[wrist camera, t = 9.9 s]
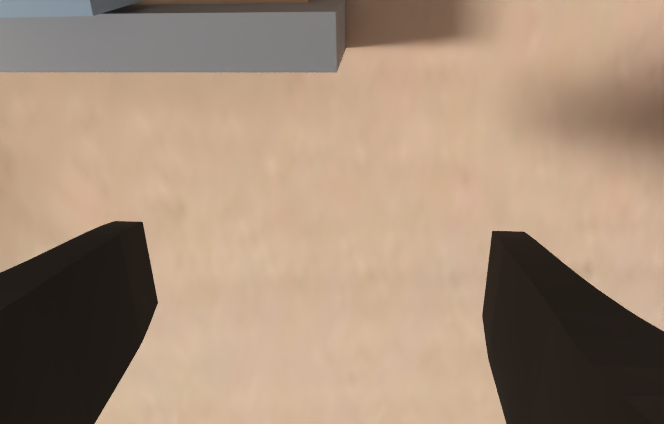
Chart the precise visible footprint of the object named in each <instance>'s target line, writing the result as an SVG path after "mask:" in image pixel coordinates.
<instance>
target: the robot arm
mask: <svg viewBox="0 0 664 424" xmlns="http://www.w3.org/2000/svg"><path fill="white" fill-rule="evenodd" d="M157 304H158V301H157V296H156V290H155V285H154V280H153V274H152V269H151V264H150V259H149V253H148V248H147V243H146V238H145V232H144V227H143V222H124V221H114V222H111V223H108V224H105V225H103V226H100V227H98V228H95V229H93V230H91V231H88V232H86V233H84V234H82V235H80V236H78V237H76V238H74V239H71V240H69V241H67V242H65V243H63V244H61V245H59V246H57V247H55V248H53V249H51V250H49V251H47V252H45V253H42V254H40V255H38V256H36V257H34V258H32V259H30V260H28V261H26V262H23V263H21V264H19V265H17V266H15V267H12V268H10V269H8V270H6V271H3V272H1V273H0V424H95V422H96V420H97V419H98V417H99V415H100V414H101V412H102V410H103V408H104V407H105V405H106V403H107V402H108V400H109V398H110V397H111V395H112V393H113V392H114V390H115V388H116V387H117V385H118V383H119V381H120V380H121V378H122V376H123V375H124V373H125V371H126V370H127V368H128V366H129V364H130V363H131V361H132V359H133V357H134V356H135V354H136V352H137V350H138V349H139V347H140V345H141V343H142V341H143V339H144V337H145V334H146V332H147V329H148V327H149V325H150V322H151V319H152V317H153V314H154V311H155V309H156V306H157ZM482 316H483V324H484V332H485V339H486V346H487V353H488V359H489V363H490V366H491V370H492V374H493V377H494V381H495V384H496V388H497V392H498V395H499V399H500V402H501V406H502V409H503V413H504V416H505V420H506V423H507V424H664V331H662V330H660V329H658V328H657V327H655V326H653V325H651V324H650V323H648V322H646V321H644V320H643V319H641V318H640V317H638V316H636V315H635V314H633V313H632V312H630V311H628V310H627V309H625V308H624V307H622V306H621V305H620V304H618V303H617V302H615V301H614V300H612V299H611V298H609V297H608V296H606V295H605V294H603V293H602V292H601V291H599V290H598V289H597V288H595V287H594V286H592V285H591V284H590V283H588V282H587V281H586V280H584V279H583V278H582V277H580V276H579V275H578V274H577V273H575V272H574V271H573V270H571V269H570V268H569V267H568V266H566V265H565V264H564V263H563V262H561V261H560V260H559V259H558V258H557V257H555V256H554V255H553V254H552V253H550V252H549V251H548V250H547V249H546V248H544V247H543V246H542V245H541V244H539V243H538V242H537V241H536V240H535V239H533V238H532V237H531V236H529V235H528V234H526V233H525V232H512V231H492V238H491V247H490V255H489V264H488V272H487V281H486V289H485V298H484V306H483V314H482Z"/></svg>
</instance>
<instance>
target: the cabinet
mask: <svg viewBox="0 0 664 424" xmlns="http://www.w3.org/2000/svg"><path fill="white" fill-rule="evenodd" d="M140 1H143V0H0V18H14V17H67V16H95V15H98V14H101V13H104V12H108V11H111V10H114V9H117V8H121V7H124V6H127V5H130V4H134V3H137V2H140Z"/></svg>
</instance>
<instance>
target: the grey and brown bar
mask: <svg viewBox="0 0 664 424" xmlns="http://www.w3.org/2000/svg"><path fill="white" fill-rule="evenodd" d="M345 49H346V11H345V0H143V1H140V2H137V3H134V4H130V5H127V6H124V7H121V8H117V9H114V10H111V11H108V12H104V13H101V14H98V15H95V16H67V17H14V18H0V72H337V70H338V68H339V65H340V62H341V60H342V57H343V54H344V52H345Z"/></svg>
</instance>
